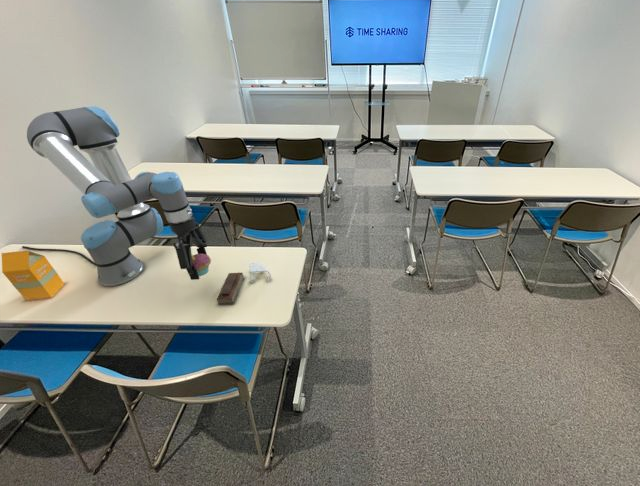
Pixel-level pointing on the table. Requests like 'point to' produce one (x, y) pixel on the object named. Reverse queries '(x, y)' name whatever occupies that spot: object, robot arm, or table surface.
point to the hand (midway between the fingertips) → (200, 270)
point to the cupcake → (201, 263)
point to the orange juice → (31, 274)
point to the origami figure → (257, 270)
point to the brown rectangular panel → (230, 288)
